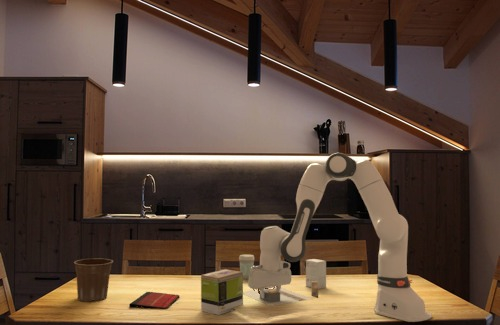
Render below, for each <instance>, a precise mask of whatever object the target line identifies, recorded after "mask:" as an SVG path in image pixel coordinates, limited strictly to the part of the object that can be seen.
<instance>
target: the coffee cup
mask: <svg viewBox="0 0 500 325" xmlns="http://www.w3.org/2000/svg"><path fill="white" fill-rule="evenodd" d="M238 261H239V262H238V263H239V272H243V279H244V280H249V270H250V268H252V266H255V256H254V254H250V253H249V254H246V253H245V254H240V255H239V257H238Z"/></svg>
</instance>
